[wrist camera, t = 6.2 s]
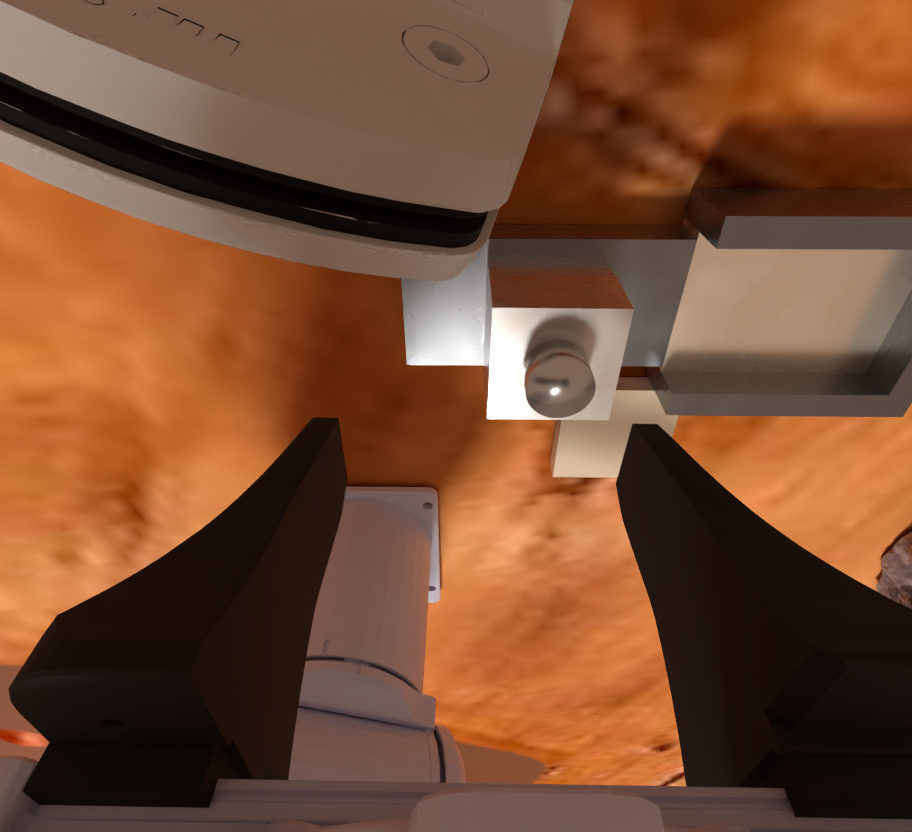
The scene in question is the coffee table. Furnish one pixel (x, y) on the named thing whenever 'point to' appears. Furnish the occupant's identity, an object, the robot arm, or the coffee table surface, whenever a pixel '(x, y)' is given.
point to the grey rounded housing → (285, 118)
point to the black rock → (898, 572)
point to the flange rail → (729, 301)
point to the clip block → (553, 337)
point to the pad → (607, 432)
